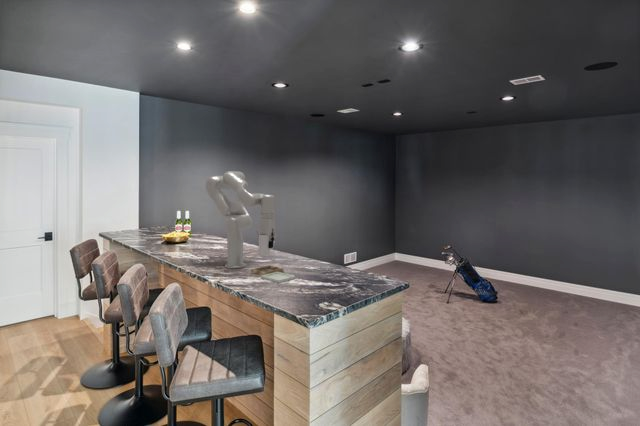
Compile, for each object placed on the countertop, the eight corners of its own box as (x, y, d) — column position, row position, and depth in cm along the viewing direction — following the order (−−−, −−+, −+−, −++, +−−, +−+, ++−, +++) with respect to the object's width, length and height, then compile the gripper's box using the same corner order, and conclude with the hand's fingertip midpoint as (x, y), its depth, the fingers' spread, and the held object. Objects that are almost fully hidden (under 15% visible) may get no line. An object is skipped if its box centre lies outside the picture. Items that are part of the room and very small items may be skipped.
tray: (261, 278, 204) (261, 275, 204) (277, 274, 213) (277, 271, 213) (279, 283, 195) (279, 280, 195) (294, 278, 204) (294, 275, 204)
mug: (261, 256, 210) (262, 235, 209) (256, 253, 216) (256, 233, 214) (277, 254, 216) (277, 234, 215) (271, 252, 222) (272, 232, 220)
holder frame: (251, 273, 215) (251, 269, 215) (270, 268, 226) (270, 265, 226) (264, 276, 207) (264, 272, 207) (283, 271, 219) (283, 268, 218)
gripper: (252, 215, 216) (251, 245, 218) (272, 218, 205) (272, 250, 207) (262, 214, 222) (261, 243, 224) (282, 217, 211) (281, 248, 213)
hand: (266, 246), depth 216 cm, fingers closed on mug, 6 cm apart
